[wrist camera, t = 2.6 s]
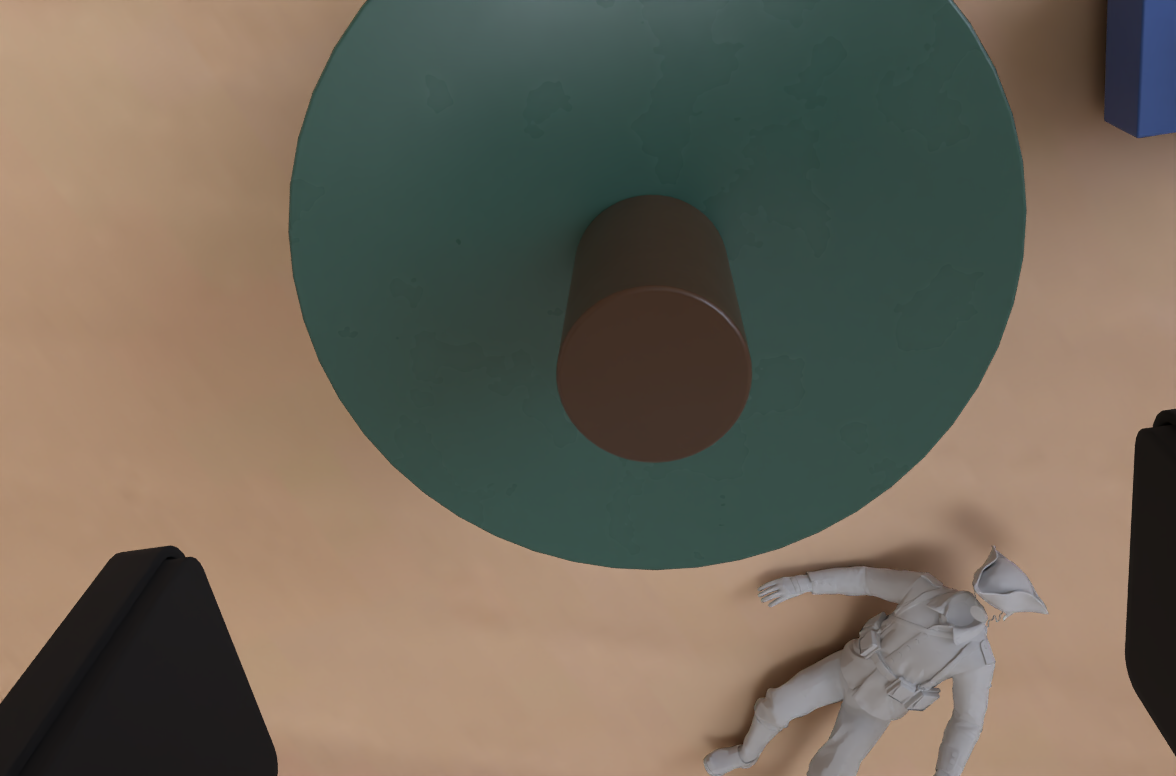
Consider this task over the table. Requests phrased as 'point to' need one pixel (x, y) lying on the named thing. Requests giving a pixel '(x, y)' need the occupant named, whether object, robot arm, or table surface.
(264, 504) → the table surface
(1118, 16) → the toy car
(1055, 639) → the table surface
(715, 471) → the lid
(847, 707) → the soldier figure
